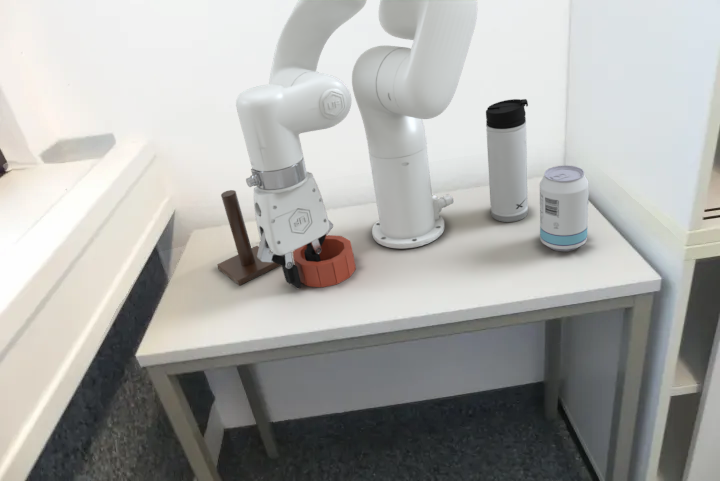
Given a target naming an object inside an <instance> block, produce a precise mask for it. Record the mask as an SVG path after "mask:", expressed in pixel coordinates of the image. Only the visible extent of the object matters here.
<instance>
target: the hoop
mask: <svg viewBox="0 0 720 481" xmlns="http://www.w3.org/2000/svg"><path fill="white" fill-rule="evenodd" d="M321 249H322V251H321V253H320V254H319V255H320V260H321V261H320V262H313V261H306V259H305V254H304V252H305V251H304V250H306V245H304V246H302V247H300V248H298V249H296V250H294V251H292V260H293V264H294V265H296V266H297V268H298V273H299V277H300V281H301V284H303V285H305V286H306V287H312V288H326V287H330V286H335V285H338V284H341V283H343V282H344V281H346V280H349V279H350V278H351V276H352V275H353V274H354V272H355V271H356V269H357V268H356V261H355V255H354V251H353V246H352V242H351V240H350V239H348V238H346V237H345V236H343V235H336V234H335V235H333V234H332V235H331V234H327V235H326V238H325V240H324V242H323V244H322V246H321Z"/></svg>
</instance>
